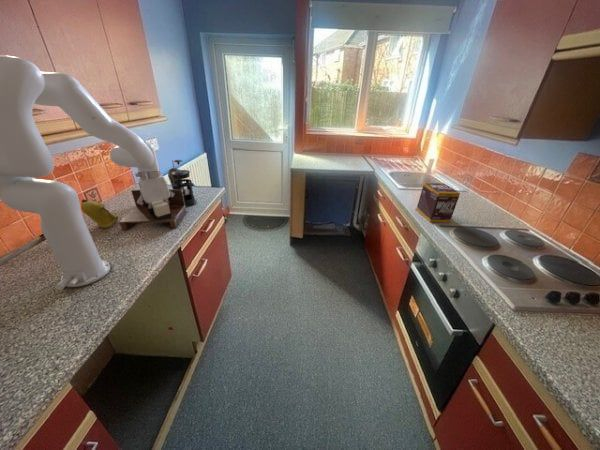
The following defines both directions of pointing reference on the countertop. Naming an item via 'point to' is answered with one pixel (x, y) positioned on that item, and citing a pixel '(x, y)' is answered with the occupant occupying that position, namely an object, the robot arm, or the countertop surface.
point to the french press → (188, 192)
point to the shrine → (98, 213)
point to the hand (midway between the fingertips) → (160, 213)
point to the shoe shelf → (143, 215)
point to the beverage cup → (173, 178)
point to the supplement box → (437, 202)
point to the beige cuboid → (161, 209)
